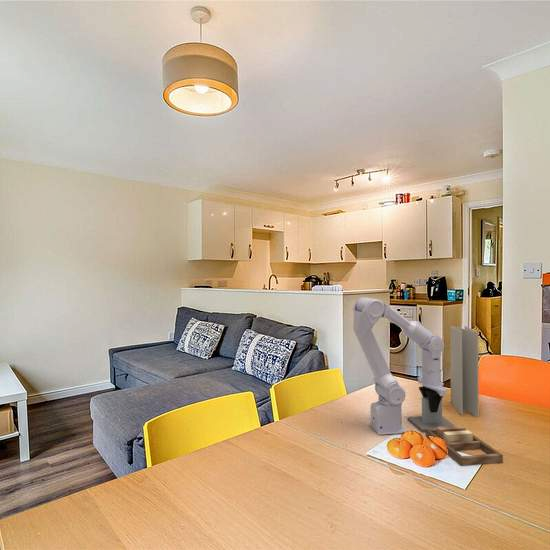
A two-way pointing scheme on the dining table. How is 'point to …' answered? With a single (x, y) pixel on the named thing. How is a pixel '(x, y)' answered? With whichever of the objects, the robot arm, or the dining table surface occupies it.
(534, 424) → the dining table surface
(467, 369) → the brochure
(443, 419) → the rubber mat
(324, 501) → the dining table surface
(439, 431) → the stained offcut
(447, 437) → the birch offcut
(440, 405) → the grey rectangular block
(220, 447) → the dining table surface
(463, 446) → the walnut rack
